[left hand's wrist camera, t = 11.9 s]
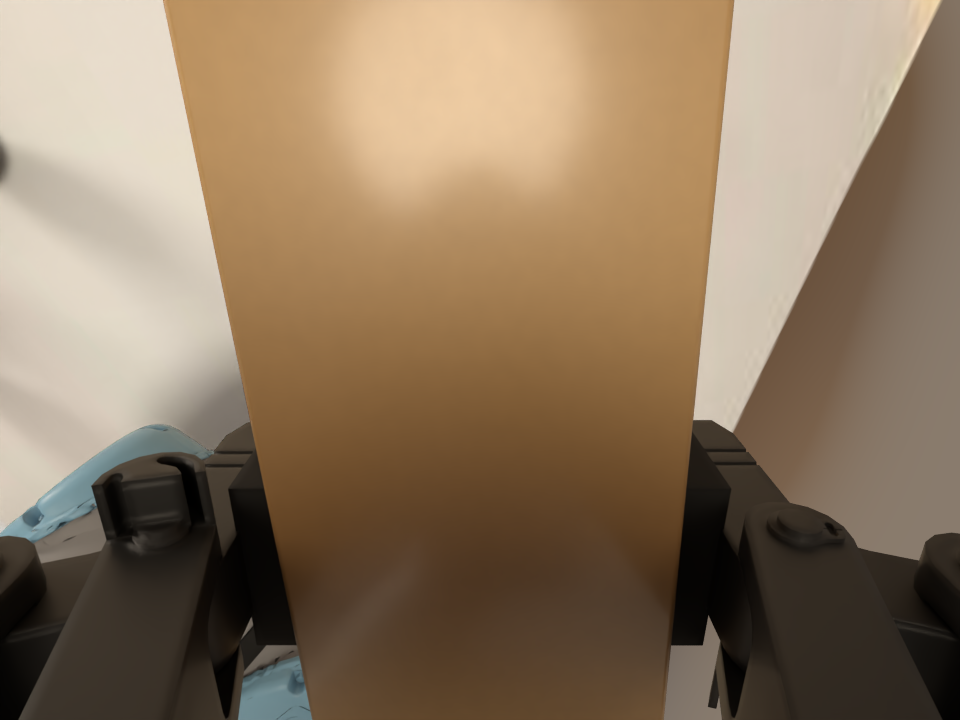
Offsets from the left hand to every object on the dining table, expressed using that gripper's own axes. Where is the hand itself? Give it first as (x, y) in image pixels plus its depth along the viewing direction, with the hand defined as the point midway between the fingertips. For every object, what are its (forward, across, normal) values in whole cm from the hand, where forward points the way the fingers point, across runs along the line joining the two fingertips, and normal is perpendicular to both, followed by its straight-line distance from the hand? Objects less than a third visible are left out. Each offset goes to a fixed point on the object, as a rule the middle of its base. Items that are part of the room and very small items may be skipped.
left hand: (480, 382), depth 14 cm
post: (+1, +1, -30) cm, 30 cm away
